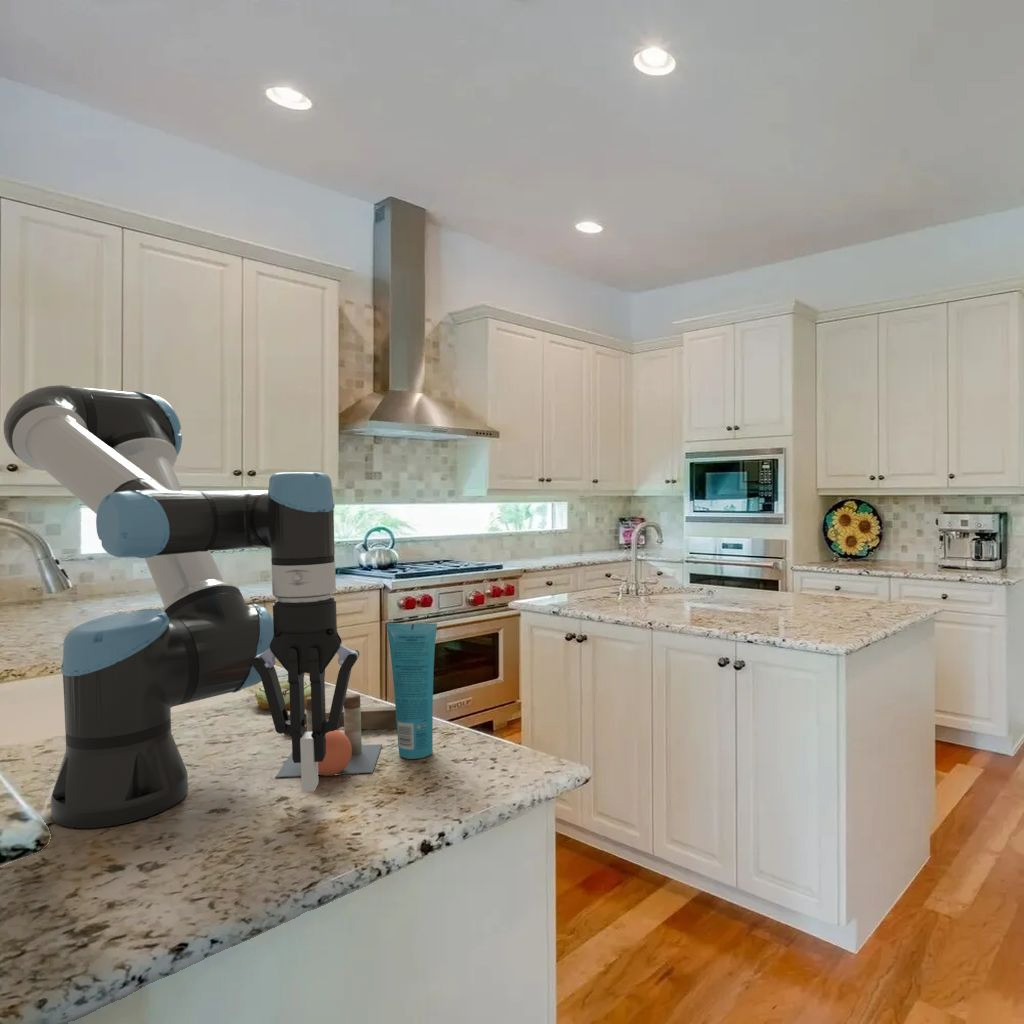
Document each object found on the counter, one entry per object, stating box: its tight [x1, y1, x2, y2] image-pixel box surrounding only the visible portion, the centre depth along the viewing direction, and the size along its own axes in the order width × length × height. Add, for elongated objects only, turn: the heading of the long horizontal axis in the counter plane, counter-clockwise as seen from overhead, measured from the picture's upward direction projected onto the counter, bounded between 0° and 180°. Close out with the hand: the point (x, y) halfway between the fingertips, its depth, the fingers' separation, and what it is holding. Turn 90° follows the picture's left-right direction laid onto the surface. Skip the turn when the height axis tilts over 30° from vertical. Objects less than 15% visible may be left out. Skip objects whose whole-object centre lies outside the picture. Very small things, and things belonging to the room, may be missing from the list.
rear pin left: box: [343, 693, 363, 755], centre depth 105 cm, size 2×2×8 cm
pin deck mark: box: [275, 743, 383, 778], centre depth 103 cm, size 13×11×1 cm
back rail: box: [287, 706, 397, 733], centre depth 117 cm, size 20×2×3 cm, turn 94°
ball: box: [318, 730, 352, 777], centre depth 98 cm, size 6×6×6 cm
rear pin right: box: [305, 697, 312, 732], centre depth 105 cm, size 2×2×8 cm
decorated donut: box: [254, 679, 311, 710], centre depth 133 cm, size 10×11×4 cm
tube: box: [386, 622, 438, 760], centre depth 105 cm, size 7×5×19 cm, turn 89°
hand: (310, 787), depth 89 cm, fingers closed
